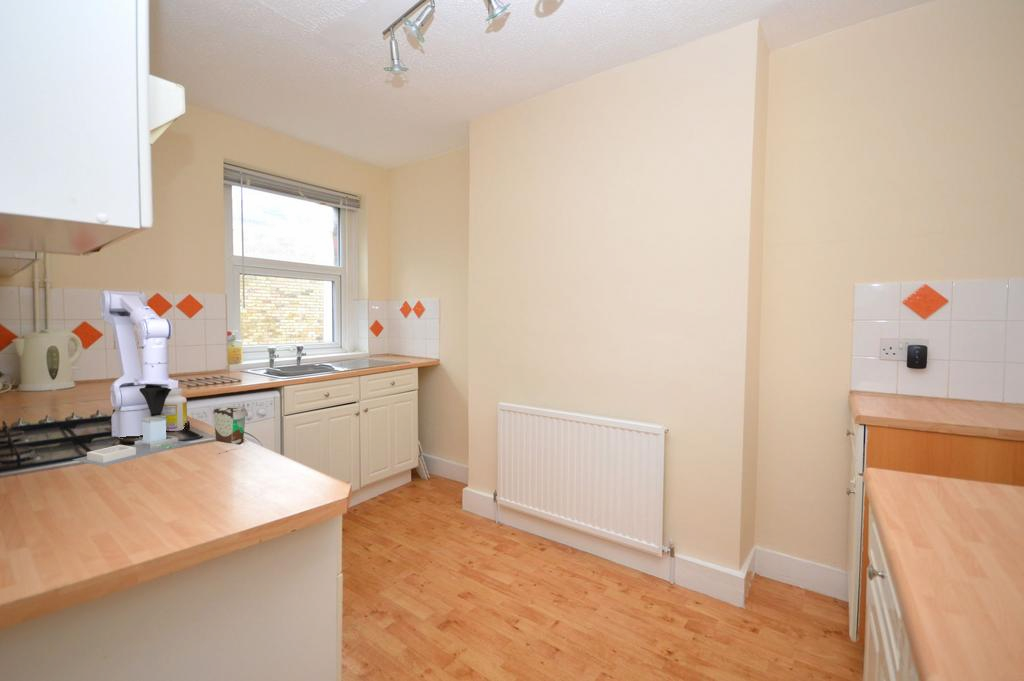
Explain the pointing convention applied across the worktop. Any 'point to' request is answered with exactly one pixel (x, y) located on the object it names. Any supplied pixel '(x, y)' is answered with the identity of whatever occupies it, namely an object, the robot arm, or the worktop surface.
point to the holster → (111, 453)
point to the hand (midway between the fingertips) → (156, 412)
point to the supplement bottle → (175, 410)
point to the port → (157, 443)
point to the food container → (229, 423)
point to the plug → (154, 428)
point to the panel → (138, 454)
